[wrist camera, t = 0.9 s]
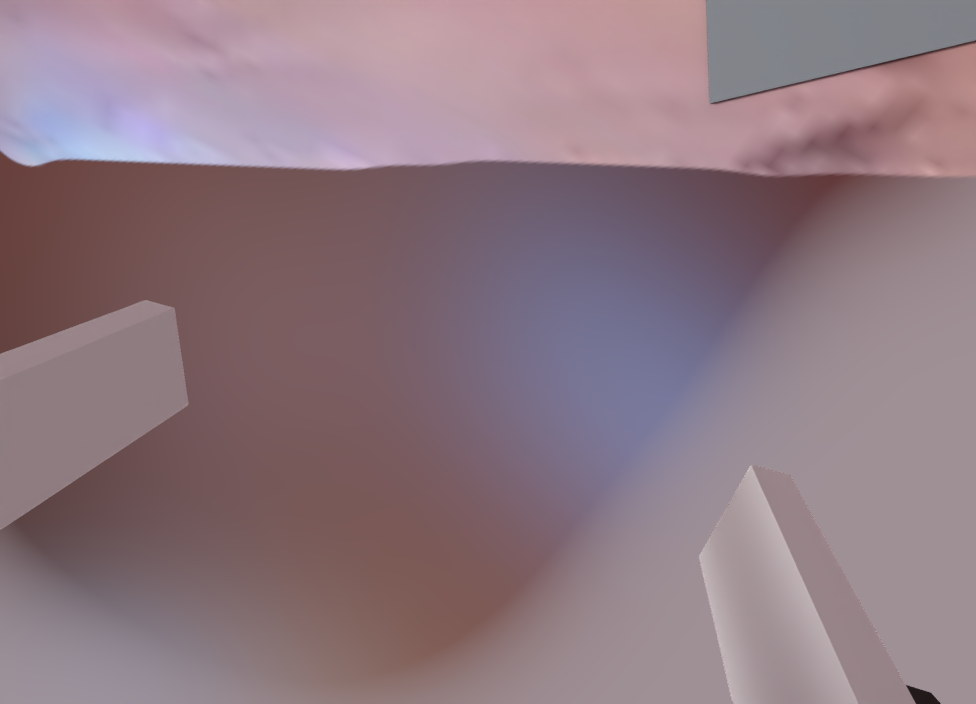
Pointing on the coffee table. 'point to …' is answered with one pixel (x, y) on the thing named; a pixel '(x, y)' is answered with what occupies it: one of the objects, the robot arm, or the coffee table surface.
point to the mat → (822, 38)
